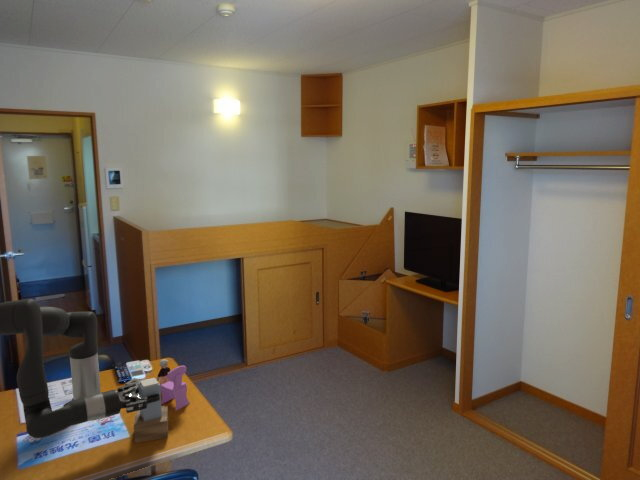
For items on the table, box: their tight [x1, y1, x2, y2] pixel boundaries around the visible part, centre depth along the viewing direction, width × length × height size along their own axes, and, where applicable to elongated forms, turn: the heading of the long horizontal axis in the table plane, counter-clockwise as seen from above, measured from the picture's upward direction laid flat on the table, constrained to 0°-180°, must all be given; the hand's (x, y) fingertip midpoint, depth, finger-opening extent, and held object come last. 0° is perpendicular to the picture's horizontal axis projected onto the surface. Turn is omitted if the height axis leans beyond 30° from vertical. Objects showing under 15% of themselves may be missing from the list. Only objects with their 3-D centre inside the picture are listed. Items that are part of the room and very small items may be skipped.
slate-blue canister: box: [138, 377, 162, 422], centre depth 155 cm, size 6×6×12 cm
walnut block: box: [133, 405, 169, 443], centre depth 157 cm, size 10×10×6 cm
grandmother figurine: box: [156, 358, 171, 395], centre depth 184 cm, size 8×4×13 cm, turn 168°
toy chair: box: [160, 365, 190, 411], centre depth 174 cm, size 8×9×15 cm
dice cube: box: [124, 377, 143, 395], centre depth 182 cm, size 5×5×5 cm
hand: (155, 391), depth 156 cm, fingers open, 8 cm apart
